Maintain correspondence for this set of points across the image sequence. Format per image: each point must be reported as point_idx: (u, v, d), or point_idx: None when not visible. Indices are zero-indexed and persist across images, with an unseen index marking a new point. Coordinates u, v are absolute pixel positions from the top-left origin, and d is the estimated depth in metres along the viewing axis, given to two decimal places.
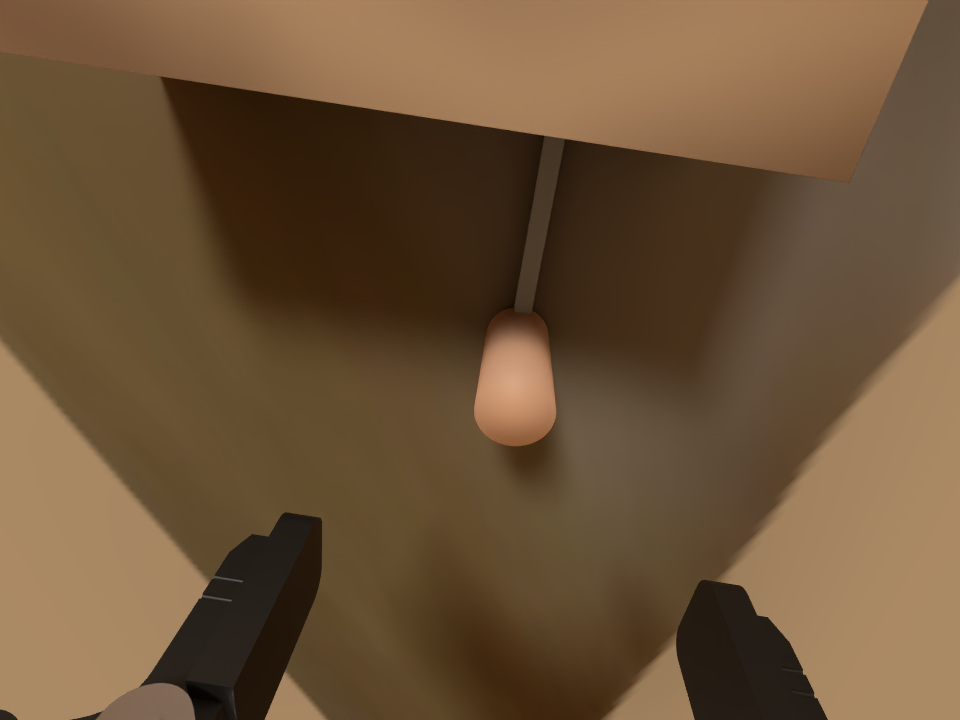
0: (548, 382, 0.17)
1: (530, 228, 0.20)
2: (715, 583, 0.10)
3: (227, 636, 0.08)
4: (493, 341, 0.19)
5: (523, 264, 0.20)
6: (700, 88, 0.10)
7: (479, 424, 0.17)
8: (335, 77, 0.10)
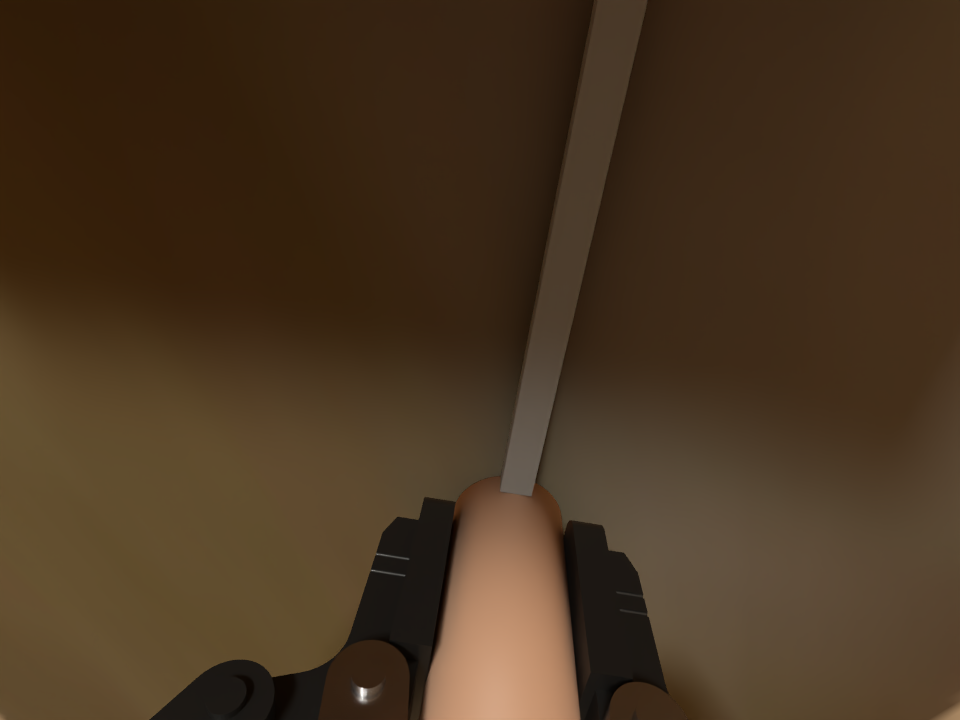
0: None
1: (530, 357, 0.10)
2: (577, 522, 0.11)
3: (412, 603, 0.09)
4: (458, 580, 0.10)
5: (517, 417, 0.11)
6: None
7: None
8: None
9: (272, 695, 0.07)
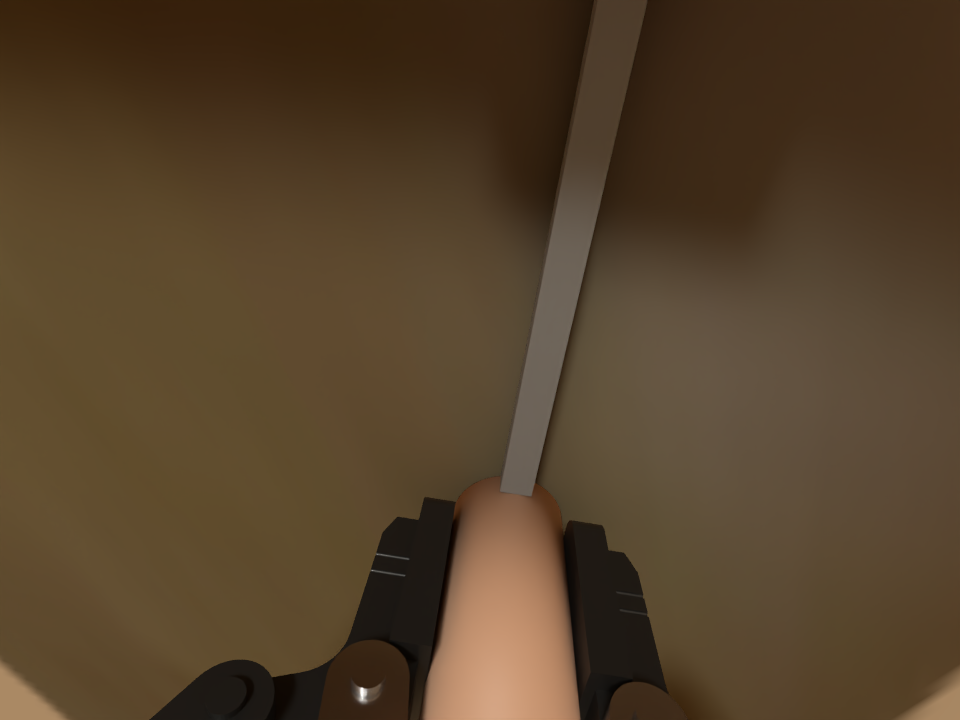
0: None
1: (530, 357, 0.10)
2: (577, 522, 0.11)
3: (412, 603, 0.09)
4: (458, 580, 0.10)
5: (517, 417, 0.11)
6: None
7: None
8: None
9: (272, 695, 0.07)
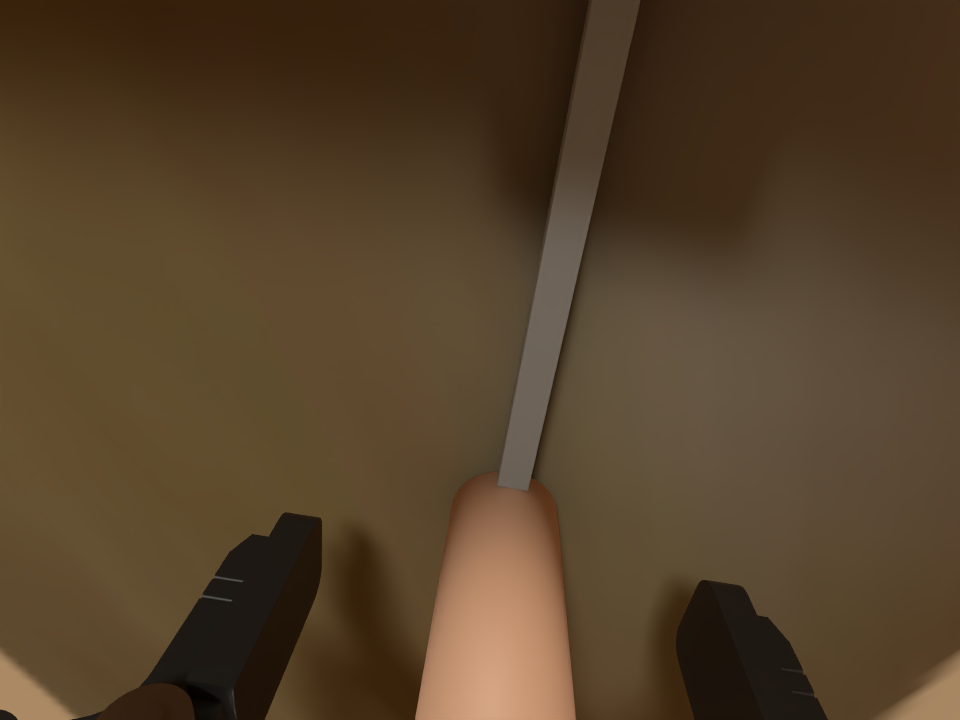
0: None
1: (526, 354, 0.10)
2: (715, 583, 0.10)
3: (227, 636, 0.08)
4: (456, 571, 0.10)
5: (513, 413, 0.11)
6: None
7: None
8: None
9: None
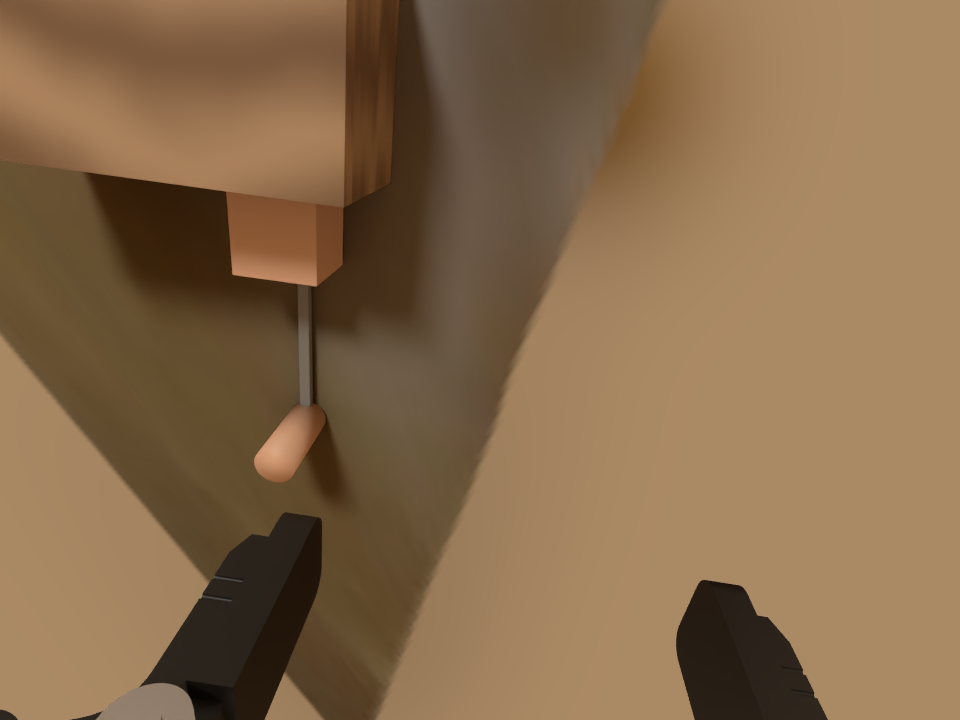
0: (292, 449, 0.34)
1: (300, 363, 0.37)
2: (715, 583, 0.10)
3: (227, 636, 0.08)
4: (279, 425, 0.36)
5: (300, 381, 0.37)
6: (269, 169, 0.23)
7: (258, 471, 0.34)
8: (118, 166, 0.23)
9: None
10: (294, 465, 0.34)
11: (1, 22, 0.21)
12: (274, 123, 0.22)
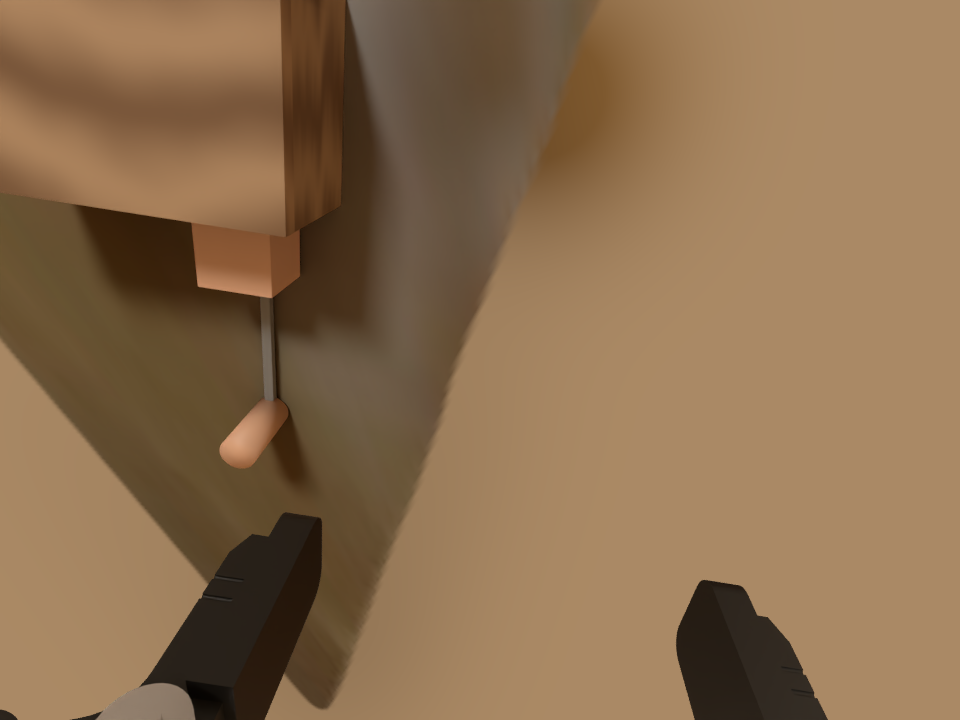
0: (253, 440, 0.38)
1: (263, 363, 0.41)
2: (715, 583, 0.10)
3: (227, 636, 0.08)
4: None
5: (264, 378, 0.42)
6: (221, 204, 0.27)
7: (224, 458, 0.38)
8: (93, 198, 0.27)
9: None
10: (255, 454, 0.38)
11: None
12: (224, 166, 0.26)
